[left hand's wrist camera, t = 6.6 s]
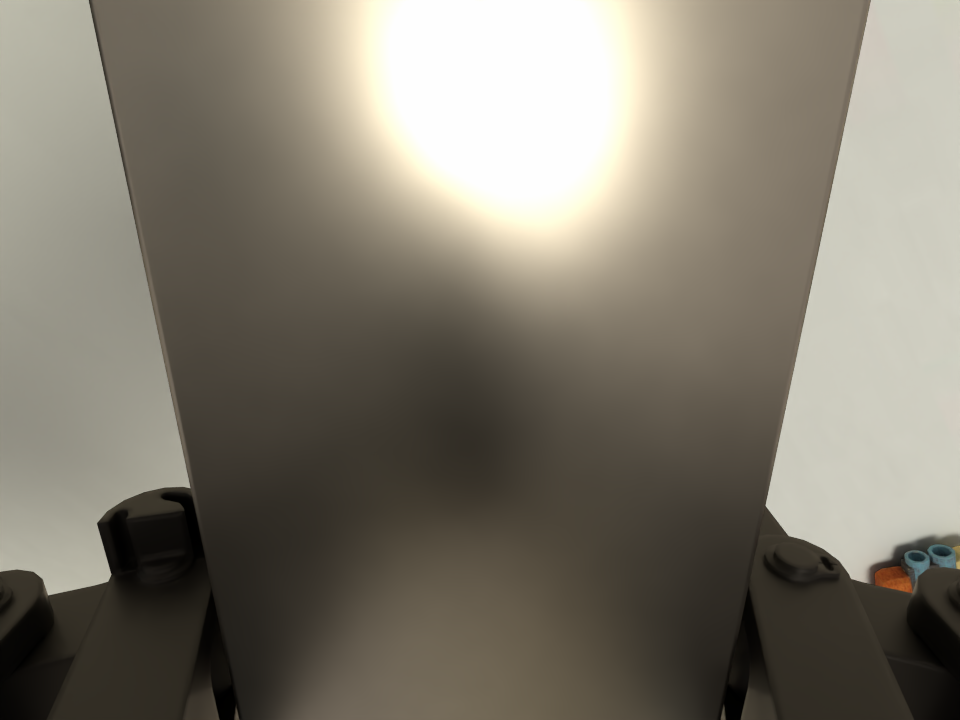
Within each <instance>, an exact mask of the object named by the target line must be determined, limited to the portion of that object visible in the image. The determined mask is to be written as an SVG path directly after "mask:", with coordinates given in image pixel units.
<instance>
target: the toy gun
mask: <svg viewBox="0 0 960 720" xmlns="http://www.w3.org/2000/svg"><path fill="white" fill-rule="evenodd" d="M927 551H928V555H927V554H926V553H925V552H922V551H919V550H911V551H908V552H906V553H905V559H901V566H896V567H889V568H883V569H880V570H879V571H877V572H876V573H875V585H877V586H881V587H886V588H891V589H895V590H900V591H905V592H910V593H913V590H914V587H915V584H916V581H917V578H918V576H919V575H920V574H922V573H923V572H924V571H925V570H927V569H932V568H939V567H948V568H955V569H960V546H955V547H953V548H951V547H949V546H947V545H942V544H935V545H932V546H930V547H929V548H928V550H927Z"/></svg>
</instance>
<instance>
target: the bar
mask: <svg viewBox="0 0 960 720" xmlns="http://www.w3.org/2000/svg"><path fill="white" fill-rule="evenodd" d="M870 2H871V0H89V4H90V8H91V13H92V18H93V23H94V28H95V32H96V37H97V42H98V47H99V51H100V56H101V61H102V66H103V71H104V75H105V80H106V85H107V90H108V95H109V99H110V104H111V109H112V114H113V118H114V123H115V128H116V133H117V138H118V142H119V147H120V152H121V157H122V162H123V166H124V171H125V176H126V181H127V185H128V190H129V195H130V200H131V205H132V209H133V214H134V219H135V224H136V229H137V233H138V238H139V243H140V248H141V252H142V257H143V262H144V267H145V272H146V276H147V281H148V286H149V291H150V296H151V300H152V305H153V310H154V315H155V319H156V324H157V329H158V334H159V339H160V343H161V348H162V353H163V358H164V363H165V367H166V372H167V377H168V382H169V386H170V391H171V396H172V401H173V406H174V410H175V415H176V420H177V425H178V429H179V434H180V439H181V444H182V449H183V453H184V458H185V463H186V468H187V473H188V477H189V482H190V487H191V492H192V496H193V501H194V506H195V511H196V516H197V520H198V525H199V530H200V535H201V540H202V544H203V549H204V554H205V559H206V563H207V568H208V573H209V578H210V583H211V587H212V592H213V597H214V602H215V607H216V611H217V616H218V621H219V626H220V630H221V635H222V640H223V645H224V650H225V654H226V659H227V664H228V669H229V674H230V678H231V683H232V688H233V693H234V697H235V702H236V707H237V712H238V717H239V720H721V716H722V711H723V706H724V701H725V696H726V692H727V687H728V682H729V677H730V672H731V668H732V663H733V658H734V653H735V648H736V644H737V639H738V634H739V629H740V625H741V620H742V615H743V610H744V605H745V601H746V596H747V591H748V586H749V581H750V577H751V572H752V567H753V562H754V557H755V553H756V548H757V543H758V538H759V533H760V529H761V524H762V519H763V514H764V509H765V505H766V500H767V495H768V490H769V486H770V481H771V476H772V471H773V466H774V462H775V457H776V452H777V447H778V442H779V438H780V433H781V428H782V423H783V418H784V414H785V409H786V404H787V399H788V394H789V390H790V385H791V380H792V375H793V371H794V366H795V361H796V356H797V351H798V347H799V342H800V337H801V332H802V327H803V323H804V318H805V313H806V308H807V303H808V299H809V294H810V289H811V284H812V279H813V275H814V270H815V265H816V260H817V256H818V251H819V246H820V241H821V236H822V232H823V227H824V222H825V217H826V212H827V208H828V203H829V198H830V193H831V188H832V184H833V179H834V174H835V169H836V164H837V160H838V155H839V150H840V145H841V141H842V136H843V131H844V126H845V121H846V117H847V112H848V107H849V102H850V97H851V93H852V88H853V83H854V78H855V73H856V69H857V64H858V59H859V54H860V49H861V45H862V40H863V35H864V30H865V26H866V21H867V16H868V11H869V6H870Z"/></svg>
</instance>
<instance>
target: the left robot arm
mask: <svg viewBox="0 0 960 720" xmlns="http://www.w3.org/2000/svg"><path fill="white" fill-rule="evenodd" d="M97 525H98V528H99V532H100V535H101V539H102V542H103V546H104V550H105V553H106V557H107V560H108V564H109V567H110V571H111V574H112V575H111V577H110V579H109V582H106V583H102V584H99V585H95V586H91V587H86V588H81V589H77V590H72V591H67V592H63V593H58V594H53V595H49V596H48V594H47V591H46V588H45V585H44V582H43V579H42V578H40V577H39V576H38V575H37V574H35V573H34V572H31V571H23V570H10V571H3V572H0V720H239V717H238V712H237V707H236V702H235V697H234V693H233V688H232V683H231V678H230V674H229V669H228V664H227V659H226V654H225V650H224V645H223V640H222V635H221V630H220V626H219V621H218V616H217V611H216V607H215V602H214V597H213V592H212V587H211V583H210V578H209V573H208V568H207V563H206V559H205V554H204V549H203V544H202V540H201V535H200V530H199V525H198V520H197V516H196V511H195V506H194V501H193V496H192V492H191V489H190V488H186V487H171V488H161V489H157V490H152V491H148V492H144V493H141V494H139V495H136V496H134V497H132V498H129V499H127V500H124V501H123V502H121V503H120V504H118V505H116V506H115V507H113V508H112V509H110V510H109V511H107V512H106V514H105V515H104V516H103V517H102V518H101V519H100V520H99V522H98V523H97ZM721 720H960V569H955V568H948V567H939V568H932V569H927V570H925V571H924V572H923V573H922V574H920V575H919V576H918V578H917V581H916V584H915V587H914V590H913V593H910V592H905V591H900V590H895V589H891V588H886V587H881V586H877V585H872V584H867V583H863V582H859V581H856V580H852V579H851V578H850V576H849V574H848V573H847V571H846V570H845V568H844V567H843V566H842V564H841V563H840V562H839V561H838V560H837V559H836V558H834V557H833V556H832V555H830V554H829V553H828V552H826V551H825V550H824V549H822V548H820V547H818V546H815V545H813V544H811V543H809V542H807V541H805V540H801V539H797V538H794V537H790V536H788V535H787V534H786V532H785V531H784V530H783V528H782V527H781V526H780V524H779V523H778V522H777V521H776V519H775V518H774V517H773V515H772V514H771V513H770V511H769V510H768V509H767V507H766V506H765V509H764V514H763V519H762V524H761V529H760V533H759V538H758V543H757V548H756V553H755V557H754V562H753V567H752V572H751V577H750V581H749V586H748V591H747V596H746V601H745V605H744V610H743V615H742V620H741V625H740V629H739V634H738V639H737V644H736V648H735V653H734V658H733V663H732V668H731V672H730V677H729V682H728V687H727V692H726V696H725V701H724V706H723V711H722V716H721Z"/></svg>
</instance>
